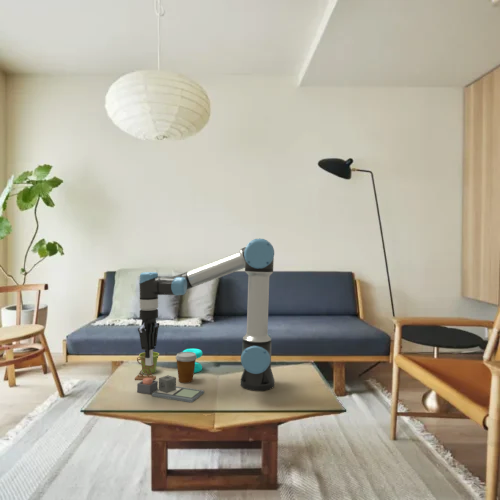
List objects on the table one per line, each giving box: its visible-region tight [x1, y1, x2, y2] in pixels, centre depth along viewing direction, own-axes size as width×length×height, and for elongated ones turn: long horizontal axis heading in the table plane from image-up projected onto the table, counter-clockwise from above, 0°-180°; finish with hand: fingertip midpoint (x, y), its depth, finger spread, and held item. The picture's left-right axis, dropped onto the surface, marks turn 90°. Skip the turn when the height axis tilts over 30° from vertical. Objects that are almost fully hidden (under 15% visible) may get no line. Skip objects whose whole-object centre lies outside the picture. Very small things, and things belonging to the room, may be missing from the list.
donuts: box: [182, 347, 204, 374], centre depth 193 cm, size 10×10×10 cm
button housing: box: [136, 380, 159, 395], centre depth 165 cm, size 6×6×4 cm
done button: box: [143, 378, 153, 385], centre depth 165 cm, size 4×4×4 cm
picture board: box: [151, 385, 205, 403], centre depth 161 cm, size 18×11×1 cm, turn 71°
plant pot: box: [138, 351, 160, 375], centre depth 189 cm, size 9×9×9 cm
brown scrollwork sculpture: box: [134, 352, 157, 381], centre depth 179 cm, size 9×4×12 cm, turn 88°
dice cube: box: [158, 374, 177, 393], centre depth 163 cm, size 5×5×5 cm
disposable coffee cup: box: [175, 351, 198, 384], centre depth 178 cm, size 10×10×12 cm
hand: (149, 364), depth 165 cm, fingers closed
